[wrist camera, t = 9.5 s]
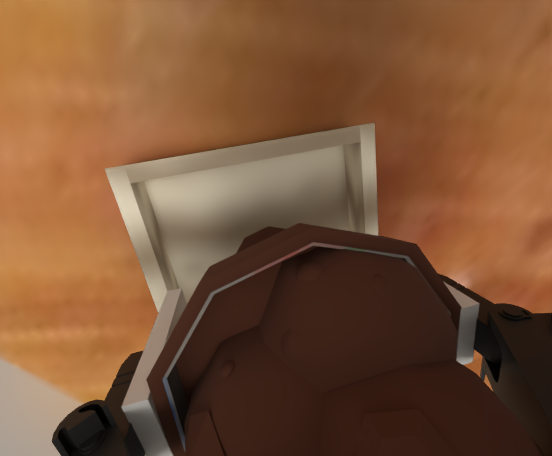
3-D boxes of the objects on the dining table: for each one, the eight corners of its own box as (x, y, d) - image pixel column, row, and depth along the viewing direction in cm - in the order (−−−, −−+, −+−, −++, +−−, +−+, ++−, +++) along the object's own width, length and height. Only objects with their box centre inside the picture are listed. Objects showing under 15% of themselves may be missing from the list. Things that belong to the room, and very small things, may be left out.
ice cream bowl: (276, 147, 15) (815, 135, 1) (373, 263, 19) (780, 578, 5) (152, 265, 16) (-349, 1076, 2) (270, 355, 20) (380, 853, 6)
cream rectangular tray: (127, 164, 17) (104, 168, 14) (348, 127, 19) (374, 122, 16) (212, 414, 25) (211, 455, 22) (364, 368, 27) (384, 398, 24)
